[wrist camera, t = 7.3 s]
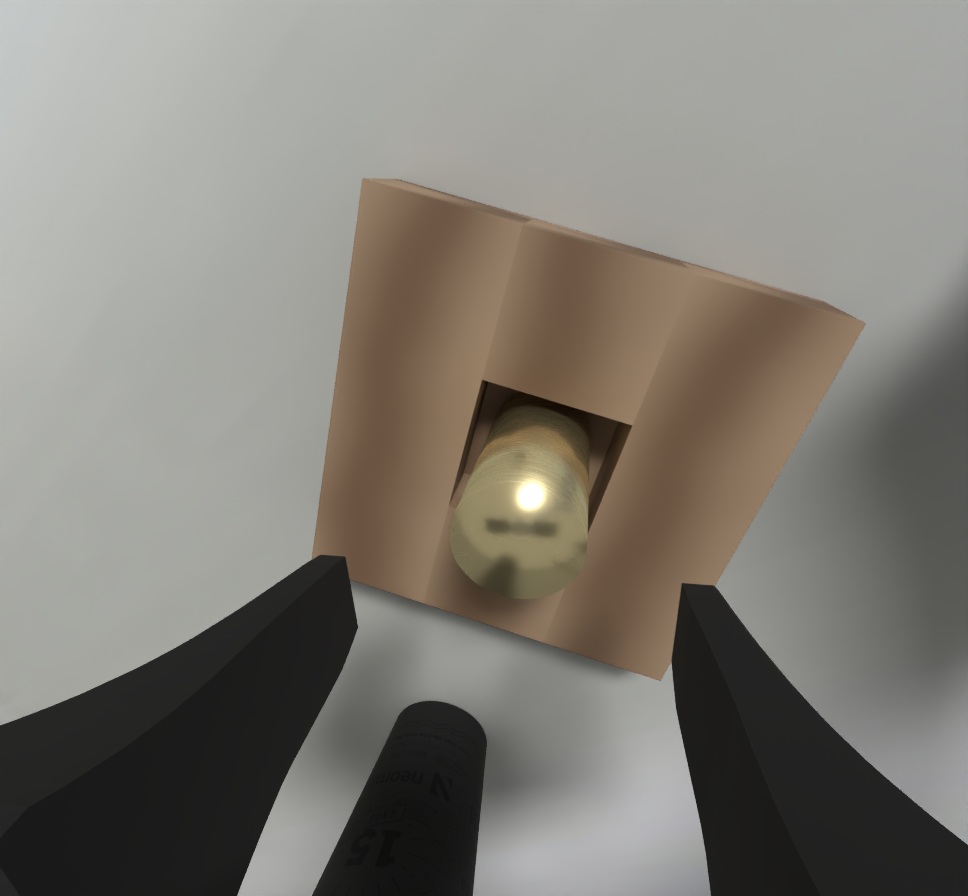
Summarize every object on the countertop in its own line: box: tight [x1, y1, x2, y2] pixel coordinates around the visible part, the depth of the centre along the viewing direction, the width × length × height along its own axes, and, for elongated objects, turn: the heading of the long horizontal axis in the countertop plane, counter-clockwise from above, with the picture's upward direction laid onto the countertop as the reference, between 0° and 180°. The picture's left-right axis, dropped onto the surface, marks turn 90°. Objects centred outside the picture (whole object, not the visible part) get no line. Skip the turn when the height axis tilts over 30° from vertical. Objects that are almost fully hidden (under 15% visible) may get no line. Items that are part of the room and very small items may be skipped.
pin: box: [449, 391, 591, 599], centre depth 17 cm, size 4×4×7 cm
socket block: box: [312, 178, 866, 681], centre depth 20 cm, size 14×14×3 cm
